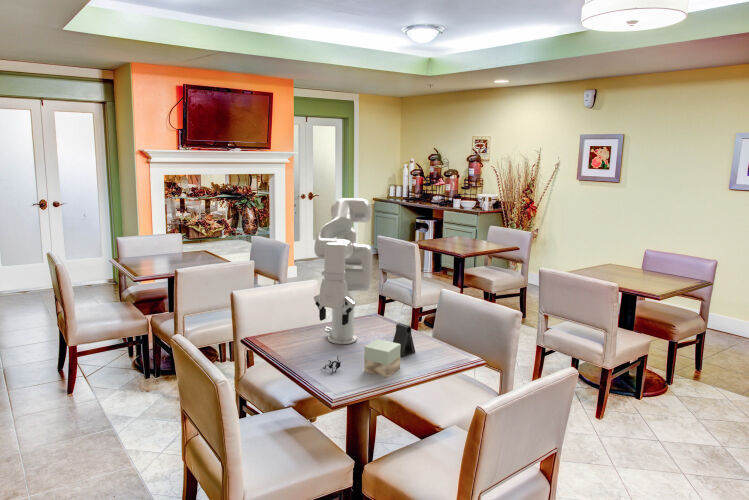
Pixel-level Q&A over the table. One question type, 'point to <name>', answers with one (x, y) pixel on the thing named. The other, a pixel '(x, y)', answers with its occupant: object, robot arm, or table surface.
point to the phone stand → (404, 339)
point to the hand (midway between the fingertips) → (333, 321)
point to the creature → (332, 365)
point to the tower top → (382, 351)
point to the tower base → (382, 367)
